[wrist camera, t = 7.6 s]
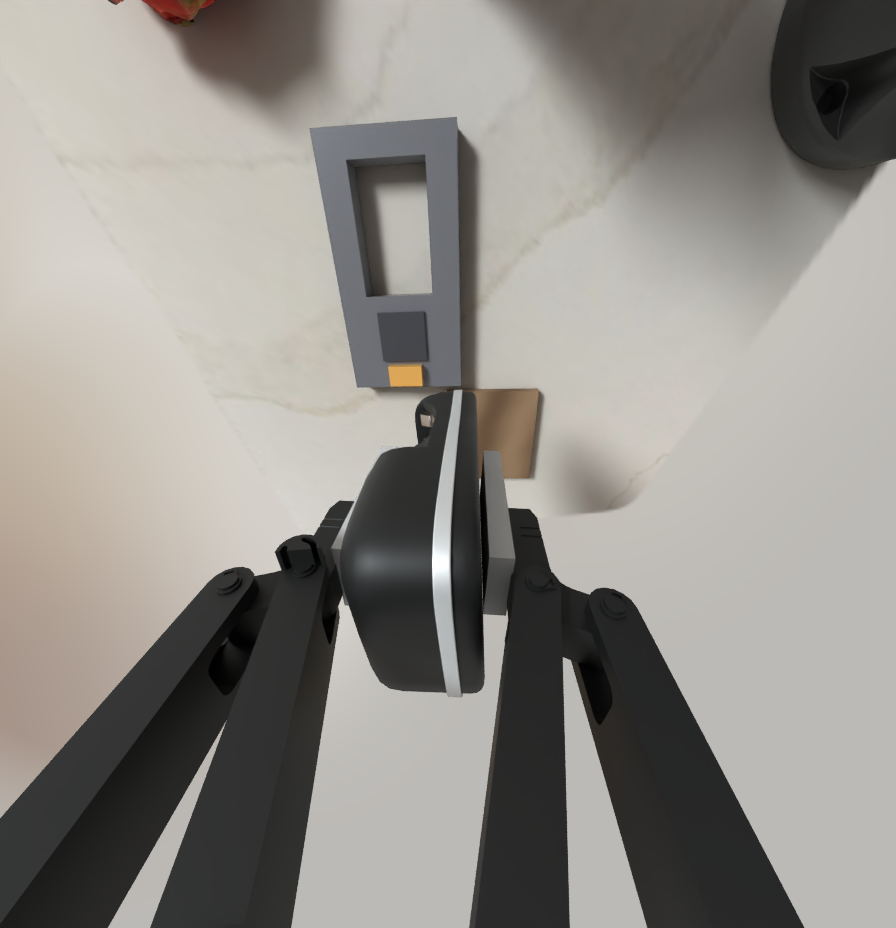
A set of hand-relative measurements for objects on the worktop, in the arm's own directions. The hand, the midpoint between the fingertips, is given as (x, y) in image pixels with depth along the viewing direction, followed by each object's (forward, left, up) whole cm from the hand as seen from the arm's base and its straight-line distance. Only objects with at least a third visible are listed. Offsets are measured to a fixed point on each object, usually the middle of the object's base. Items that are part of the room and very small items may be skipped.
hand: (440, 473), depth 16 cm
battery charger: (0, 0, -3) cm, 3 cm away
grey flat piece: (+5, -8, -19) cm, 21 cm away
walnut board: (-3, +7, -19) cm, 20 cm away
